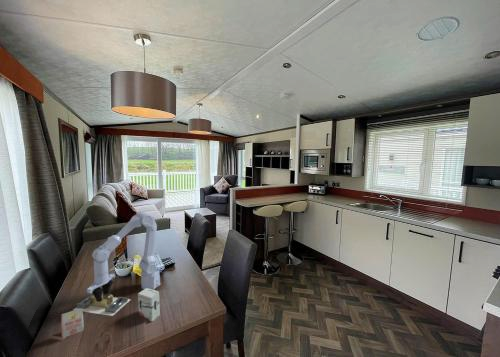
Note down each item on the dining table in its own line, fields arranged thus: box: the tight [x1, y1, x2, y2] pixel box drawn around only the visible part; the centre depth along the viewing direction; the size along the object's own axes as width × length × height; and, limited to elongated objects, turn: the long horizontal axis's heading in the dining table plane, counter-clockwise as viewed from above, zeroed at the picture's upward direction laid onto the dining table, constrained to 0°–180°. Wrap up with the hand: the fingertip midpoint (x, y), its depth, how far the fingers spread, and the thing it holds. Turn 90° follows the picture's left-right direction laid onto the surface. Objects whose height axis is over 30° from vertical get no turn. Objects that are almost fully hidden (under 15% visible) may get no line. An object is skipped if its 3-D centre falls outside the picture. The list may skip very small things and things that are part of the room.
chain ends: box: [76, 293, 129, 314], centre depth 107 cm, size 21×9×2 cm, turn 81°
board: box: [72, 296, 132, 317], centre depth 107 cm, size 22×12×1 cm, turn 81°
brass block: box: [91, 292, 114, 307], centre depth 107 cm, size 9×4×4 cm, turn 81°
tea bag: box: [60, 308, 85, 341], centre depth 90 cm, size 4×7×10 cm, turn 124°
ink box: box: [137, 288, 161, 322], centre depth 100 cm, size 8×5×12 cm, turn 69°
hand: (102, 298), depth 107 cm, fingers closed on brass block, 4 cm apart
